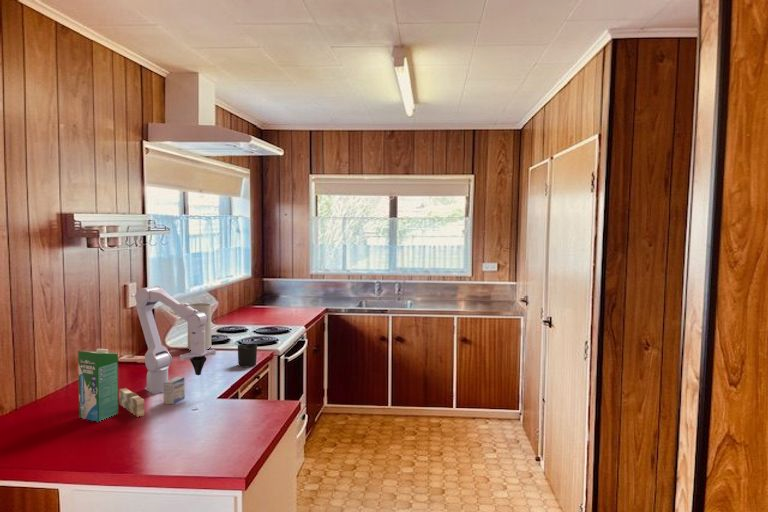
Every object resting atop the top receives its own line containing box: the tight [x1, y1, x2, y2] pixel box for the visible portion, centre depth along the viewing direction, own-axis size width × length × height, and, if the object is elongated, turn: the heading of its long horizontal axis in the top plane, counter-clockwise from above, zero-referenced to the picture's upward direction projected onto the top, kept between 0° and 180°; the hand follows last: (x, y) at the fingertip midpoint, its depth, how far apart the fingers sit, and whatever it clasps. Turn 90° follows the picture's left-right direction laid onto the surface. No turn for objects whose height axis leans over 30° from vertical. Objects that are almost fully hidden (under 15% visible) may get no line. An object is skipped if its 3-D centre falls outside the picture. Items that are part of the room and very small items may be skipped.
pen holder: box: [237, 343, 258, 367], centre depth 262 cm, size 9×9×10 cm
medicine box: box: [162, 376, 186, 405], centre depth 208 cm, size 8×4×9 cm, turn 168°
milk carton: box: [77, 348, 119, 423], centre depth 189 cm, size 9×9×25 cm
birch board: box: [118, 387, 145, 418], centre depth 197 cm, size 18×2×6 cm, turn 46°
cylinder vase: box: [187, 302, 212, 351], centre depth 292 cm, size 12×12×25 cm
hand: (198, 374), depth 215 cm, fingers closed
